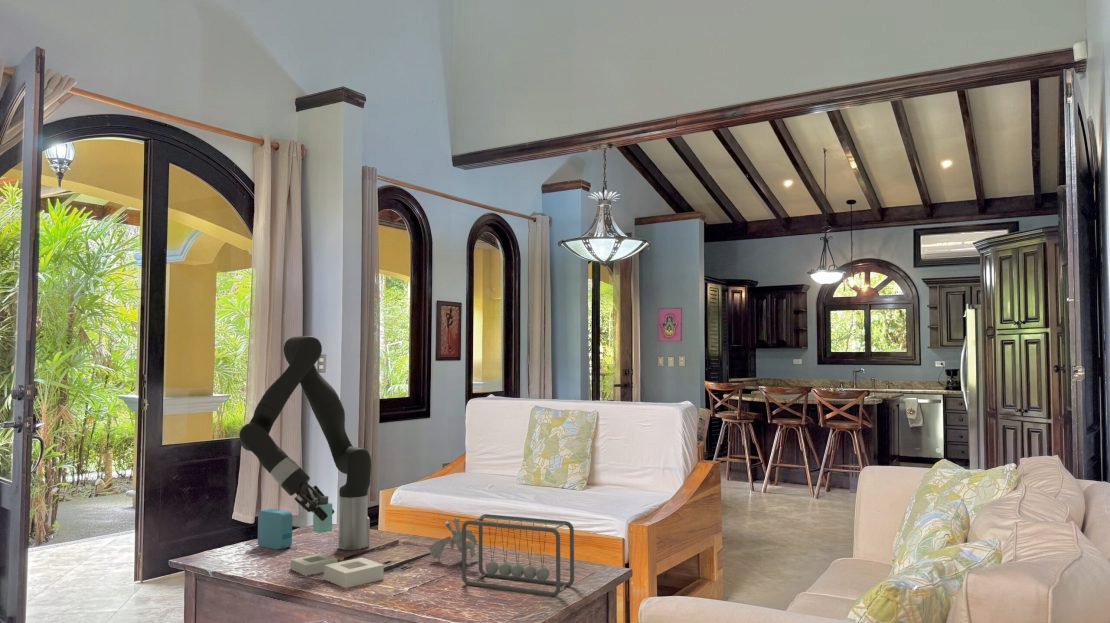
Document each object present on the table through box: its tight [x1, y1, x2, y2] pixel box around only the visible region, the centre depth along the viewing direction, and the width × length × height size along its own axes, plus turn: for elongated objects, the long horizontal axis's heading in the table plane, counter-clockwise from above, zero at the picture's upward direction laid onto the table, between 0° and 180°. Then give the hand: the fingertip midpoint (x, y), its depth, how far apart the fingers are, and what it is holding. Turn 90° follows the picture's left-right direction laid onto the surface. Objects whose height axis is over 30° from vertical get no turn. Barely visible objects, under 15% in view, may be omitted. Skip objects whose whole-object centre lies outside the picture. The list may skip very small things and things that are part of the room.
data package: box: [257, 508, 293, 550], centre depth 255 cm, size 12×4×12 cm, turn 60°
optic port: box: [323, 556, 385, 589], centre depth 216 cm, size 12×12×4 cm
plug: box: [312, 495, 333, 534], centre depth 225 cm, size 4×4×10 cm
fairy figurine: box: [428, 517, 479, 561], centre depth 234 cm, size 10×18×14 cm, turn 65°
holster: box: [290, 552, 339, 577], centre depth 227 cm, size 10×10×3 cm
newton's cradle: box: [461, 513, 575, 597], centre depth 210 cm, size 30×10×18 cm, turn 66°
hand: (328, 516), depth 225 cm, fingers closed on plug, 5 cm apart
